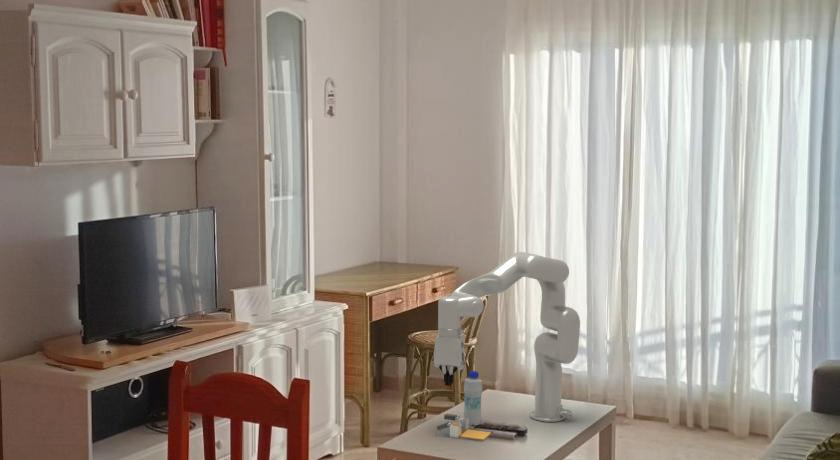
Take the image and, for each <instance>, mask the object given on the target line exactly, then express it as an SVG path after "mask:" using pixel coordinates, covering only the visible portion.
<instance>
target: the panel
mask: <svg viewBox="0 0 840 460" xmlns="http://www.w3.org/2000/svg"><path fill="white" fill-rule="evenodd" d="M469 427H470V426H469V418H465V417H464V416H460V418H459V419H457V422H455V421H454V422H452V424H451V425H450V426H449V427H447V428H444V429H441V430H439V432H437V433H436V434H435V435H434V437H435V436H436V437H442V438H449V439H454V440H455V439H456V440H464V441H471V442H478V443H483V442H484V441H485V440H487V438H489V437H490V436H491V435H492V434H493V433H491V434H490V435H489V436H488V437H487V438H485V439H484V440H479V439H472V438H464V437H460V436H461V435H462V434H463V433H464V432H465V431H466V430H468V429H469V430H476V431H481V430H482V429H477V428H476V429H475V428H469Z"/></svg>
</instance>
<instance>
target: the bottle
mask: <svg viewBox="0 0 840 460" xmlns="http://www.w3.org/2000/svg"><path fill="white" fill-rule="evenodd" d="M463 393H464V409H463V417H465V418H469V427H470V426H475V427H476V426H479V425H481V424H482V394H483V381H482V379H480V378H479V372H478V371H476V370H471V371H469V373H468V377H467V378H466V379H464V385H463Z"/></svg>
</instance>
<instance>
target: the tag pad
mask: <svg viewBox="0 0 840 460" xmlns="http://www.w3.org/2000/svg"><path fill="white" fill-rule="evenodd" d="M490 434H491V432H484V431H476V430H469V429H468V430H466V431H465V432H464V433H463V434H462V435H461V436H460V437H464V438H472V439H479V440H484V439H485V438H486V439H487V437H488V436H489V435H490ZM491 435H492V434H491ZM491 435H490V436H491ZM490 436H489V437H490ZM489 437H488V438H489ZM486 439H485V440H486ZM485 440H484V441H485Z"/></svg>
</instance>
